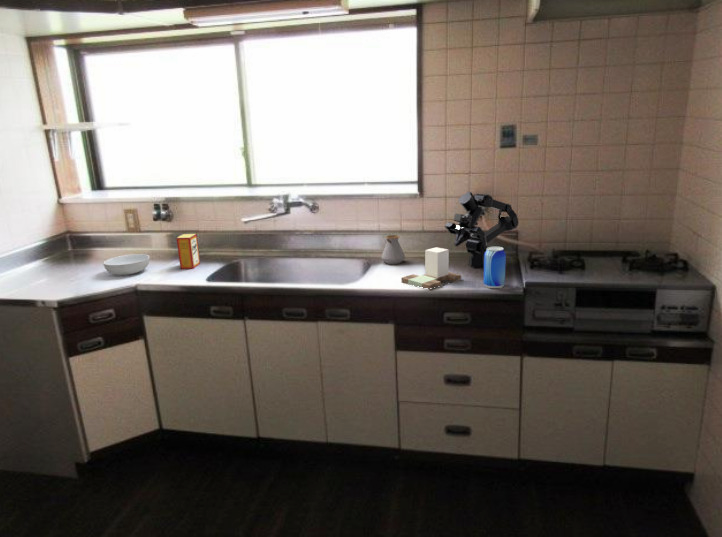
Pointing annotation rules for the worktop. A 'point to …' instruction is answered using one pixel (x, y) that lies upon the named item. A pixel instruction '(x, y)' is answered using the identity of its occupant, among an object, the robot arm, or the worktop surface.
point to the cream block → (436, 262)
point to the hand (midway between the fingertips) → (455, 245)
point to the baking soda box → (188, 251)
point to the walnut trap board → (433, 283)
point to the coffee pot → (393, 251)
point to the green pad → (420, 280)
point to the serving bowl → (127, 264)
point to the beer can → (494, 267)
